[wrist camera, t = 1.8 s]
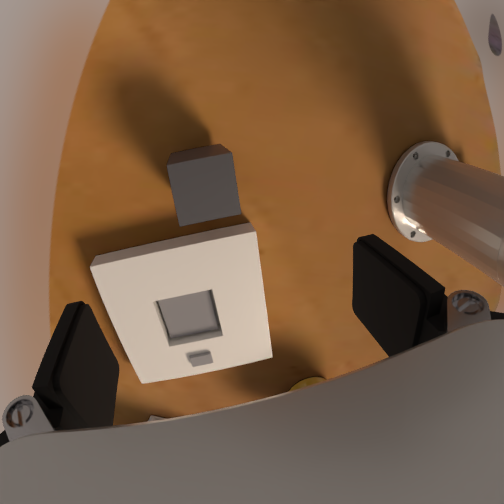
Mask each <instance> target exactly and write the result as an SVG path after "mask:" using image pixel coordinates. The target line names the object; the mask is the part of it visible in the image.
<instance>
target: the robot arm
mask: <svg viewBox="0 0 504 504" xmlns="http://www.w3.org/2000/svg"><path fill="white" fill-rule="evenodd" d="M387 204H388V212H389V215H390V219H391V221H392V223H393V225H394V227H395V228H396V229H397V231H398V232H399V233H400V234H402V235H403V236H404V237H406V238H408V239H409V240H411V241H415V242H425V241H429V240H432V239H434V240H435V241H437V242H438V243H440V244H441V245H443V246H445V247H446V248H448V249H449V250H451V251H452V252H454V253H455V254H457V255H458V256H460V257H461V258H463V259H464V260H466V261H467V262H469V263H470V264H472V265H473V266H475V267H476V268H478V269H479V270H481V271H482V272H483V273H485V274H486V275H488V276H489V277H491V278H492V279H493V280H495V281H496V282H498V283H499V284H501V285H502V286H504V176H501V175H498V174H495V173H493V172H490V171H487V170H484V169H481V168H478V167H475V166H472V165H469V164H466V163H462V162H459V160H458V158H457V157H456V155H455V154H454V152H453V151H452V150H451V149H450V148H448V147H447V146H446V145H444V144H441V143H439V142H434V141H423V142H420V143H417V144H415V145H414V146H412V147H410V148H409V149H408V150H407V151H406V152H405V153H404V154H403V155H402V156H401V158H400V159H399V160H398V162H397V164H396V166H395V168H394V170H393V172H392V175H391V178H390V181H389V186H388V194H387ZM444 292H445V287H443V286H442V285H441V284H440V283H438V282H437V281H436V280H435V279H433V278H432V277H431V276H430V275H428V274H427V273H426V272H424V271H423V270H422V269H420V268H419V267H418V266H417V265H415V264H414V263H413V262H411V261H410V260H409V259H407V258H406V257H405V256H403V255H402V254H401V253H399V252H398V251H397V250H395V249H394V248H392V247H391V246H390V245H388V244H387V243H386V242H384V241H383V240H381V239H380V238H379V237H377V236H376V235H374V234H371V235H367V236H363V237H359V238H358V239H357V242H355V243H354V245H353V299H352V307H353V311H354V313H355V315H356V316H357V317H358V318H359V319H360V321H361V322H362V323H363V324H364V326H365V327H366V328H367V329H368V331H369V332H370V333H371V334H372V336H373V337H374V338H375V340H376V341H377V342H378V343H379V345H380V346H381V347H382V348H383V350H384V351H385V352H386V353H387V355H388V356H389V357H388V358H386V359H383V360H381V361H378V362H376V363H373V364H370V365H368V366H365V367H362V368H360V369H357V370H354V371H351V372H348V373H346V374H343V375H340V376H337V377H334V378H331V379H328V380H325V381H322V382H319V383H315V384H312V385H309V386H306V387H303V388H299V389H296V390H293V391H289V392H286V393H282V394H278V395H275V396H271V397H267V398H264V399H260V400H256V401H252V402H248V403H244V404H239V405H235V406H231V407H226V408H222V409H217V410H212V411H207V412H202V413H197V414H192V415H186V416H181V417H175V418H169V419H162V420H156V421H148V422H141V423H133V424H124V425H115V426H113V418H114V409H115V400H116V392H117V384H118V377H119V364H118V361H117V359H116V357H115V356H114V354H113V352H112V350H111V348H110V346H109V344H108V342H107V340H106V338H105V336H104V334H103V332H102V330H101V328H100V326H99V324H98V322H97V320H96V318H95V316H94V314H93V311H92V309H91V307H90V306H89V305H88V304H85V303H84V302H83V301H79V302H74V303H70V304H67V305H66V307H65V309H64V311H63V313H62V315H61V317H60V320H59V322H58V324H57V326H56V329H55V331H54V333H53V335H52V338H51V340H50V342H49V345H48V347H47V349H46V352H45V354H44V357H43V359H42V362H41V364H40V367H39V369H38V372H37V375H36V377H35V380H34V383H33V386H32V388H33V390H34V391H35V393H34V396H33V397H32V396H29V395H23V396H20V397H18V398H16V399H14V400H13V401H12V402H10V404H9V405H8V406H7V407H6V409H5V411H4V413H3V418H2V420H3V426H4V428H5V430H4V431H3V432H2V433H1V434H0V504H504V313H499V312H492V311H490V310H489V305H488V303H487V301H486V299H485V298H484V297H483V296H481V295H480V294H478V293H476V292H473V291H469V290H458V291H455V292H453V293H451V294H450V295H449V296H448V297H447V296H446V295H445V294H444Z"/></svg>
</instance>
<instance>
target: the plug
mask: <svg viewBox="0 0 504 504" xmlns="http://www.w3.org/2000/svg"><path fill="white" fill-rule="evenodd" d="M167 169H168V174H169V179H170V184H171V189H172V194H173V199H174V203H175V208H176V212H177V217H178V221H179V226H185V225H190V224H195V223H199V222H204V221H209V220H214V219H219V218H224V217H229V216H234V215H239V214H241V209H240V202H239V196H238V189H237V183H236V176H235V169H234V163H233V156H232V152H230V151H229V150H228V149H226V148H225V147H224V146H222V145H221V144H216V145H211V146H205V147H200V148H195V149H190V150H185V151H180V152H175V153H171V154H170V157H169V160H168V163H167Z"/></svg>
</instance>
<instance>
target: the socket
mask: <svg viewBox="0 0 504 504" xmlns="http://www.w3.org/2000/svg"><path fill="white" fill-rule="evenodd" d="M90 269H91V272H92V275H93V277H94V280H95V282H96V285H97V288H98V290H99V293H100V295H101V298H102V300H103V302H104V305H105V307H106V310H107V312H108V314H109V317H110V319H111V321H112V323H113V326H114V328H115V330H116V332H117V334H118V337H119V339H120V341H121V343H122V345H123V347H124V349H125V351H126V353H127V355H128V358H129V360H130V362H131V364H132V366H133V367H134V369H135V371H136V373H137V375H138V377H139V379H140V381H141V383H142V384H143V383H150V382H156V381H162V380H168V379H174V378H180V377H185V376H191V375H196V374H201V373H206V372H211V371H216V370H221V369H225V368H230V367H234V366H239V365H243V364H248V363H252V362H256V361H260V360H264V359H268V358H272V357H273V356H272V348H271V340H270V333H269V325H268V318H267V310H266V303H265V295H264V288H263V280H262V273H261V265H260V258H259V251H258V243H257V236H256V231H255V229H254V227H253V226H252V224H251V223H245V224H240V225H235V226H230V227H225V228H220V229H215V230H210V231H206V232H201V233H196V234H191V235H187V236H182V237H177V238H173V239H168V240H163V241H159V242H154V243H150V244H145V245H141V246H136V247H132V248H128V249H123V250H119V251H114V252H110V253H106V254H102V255H97V256H95V258H94V260H93V262H92V264H91V266H90ZM206 290H209V292H210V296H211V301H212V305H213V309H214V313H215V317H216V321H217V325H218V329H216V330H211V331H206V332H202V333H197V334H192V335H187V336H182V337H177V338H172V339H171V336H170V333H169V331H168V328H167V325H166V322H165V319H164V317H163V314H162V311H161V308H160V305H159V302H158V300H163V299H168V298H173V297H178V296H182V295H187V294H192V293H197V292H202V291H206Z"/></svg>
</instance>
